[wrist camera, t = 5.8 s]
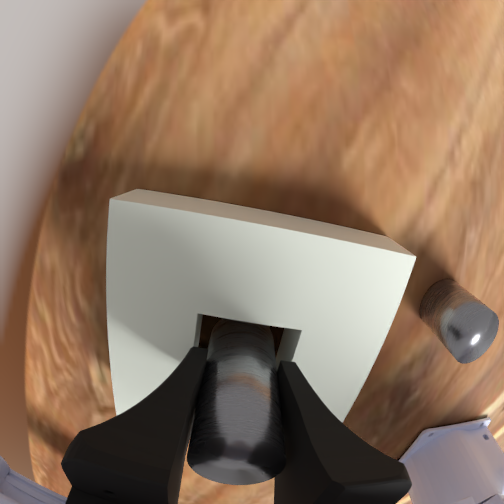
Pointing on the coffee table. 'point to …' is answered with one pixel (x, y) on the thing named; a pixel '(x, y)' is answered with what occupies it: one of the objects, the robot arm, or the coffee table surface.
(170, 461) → the robot arm
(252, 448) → the long pin
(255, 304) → the hole block
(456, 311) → the short pin
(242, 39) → the coffee table surface
